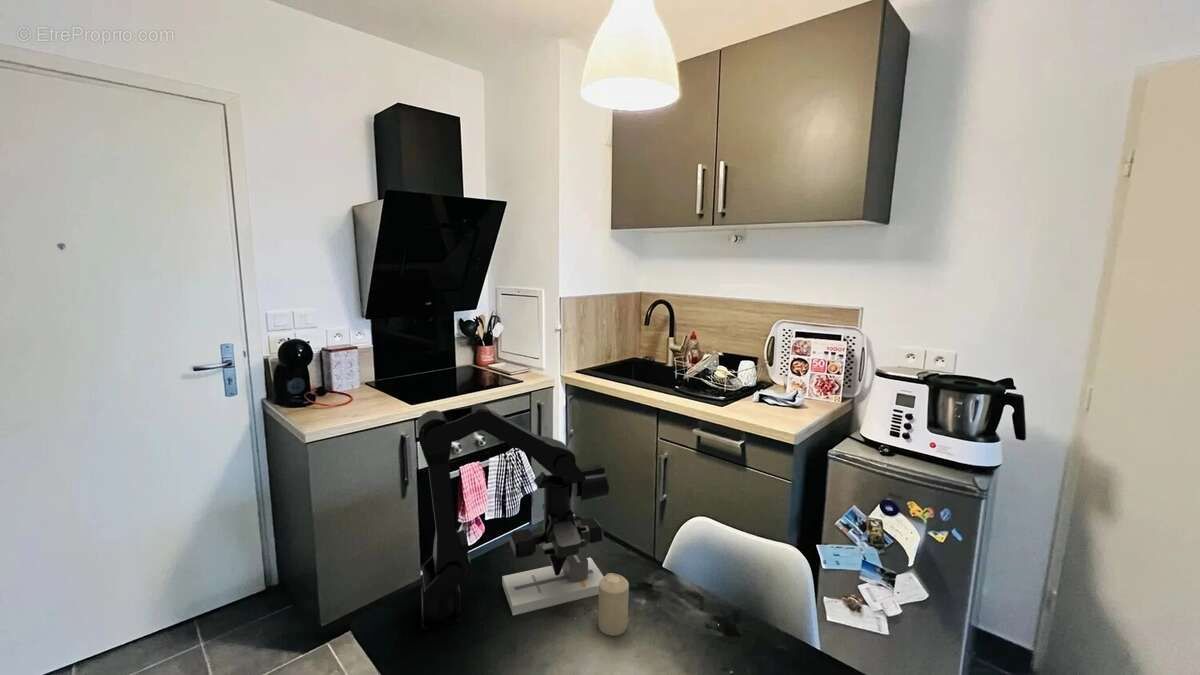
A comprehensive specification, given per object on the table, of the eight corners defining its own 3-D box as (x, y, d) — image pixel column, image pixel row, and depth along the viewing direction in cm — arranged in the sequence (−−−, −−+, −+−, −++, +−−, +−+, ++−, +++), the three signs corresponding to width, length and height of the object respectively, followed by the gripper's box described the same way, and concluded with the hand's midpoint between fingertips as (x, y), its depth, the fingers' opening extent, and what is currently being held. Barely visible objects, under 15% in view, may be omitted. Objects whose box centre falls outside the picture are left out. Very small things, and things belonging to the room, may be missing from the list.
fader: (569, 582, 101) (569, 563, 101) (562, 568, 106) (562, 551, 105) (587, 578, 103) (588, 559, 102) (579, 565, 107) (579, 547, 107)
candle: (630, 619, 94) (632, 571, 93) (622, 639, 89) (624, 588, 88) (603, 612, 96) (604, 565, 95) (594, 631, 91) (595, 581, 90)
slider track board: (512, 615, 95) (512, 605, 94) (502, 585, 104) (502, 575, 103) (607, 592, 102) (608, 582, 102) (590, 565, 111) (590, 556, 111)
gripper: (522, 531, 90) (522, 609, 92) (615, 514, 97) (613, 587, 99) (509, 504, 100) (509, 575, 102) (594, 490, 107) (592, 557, 109)
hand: (556, 574), depth 103 cm, fingers closed
